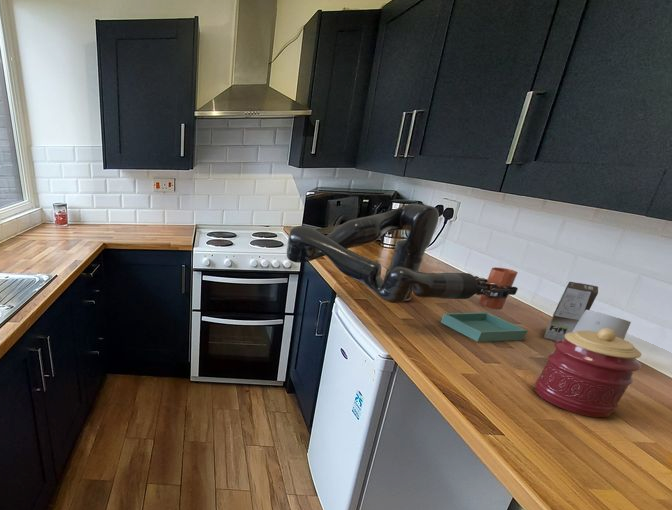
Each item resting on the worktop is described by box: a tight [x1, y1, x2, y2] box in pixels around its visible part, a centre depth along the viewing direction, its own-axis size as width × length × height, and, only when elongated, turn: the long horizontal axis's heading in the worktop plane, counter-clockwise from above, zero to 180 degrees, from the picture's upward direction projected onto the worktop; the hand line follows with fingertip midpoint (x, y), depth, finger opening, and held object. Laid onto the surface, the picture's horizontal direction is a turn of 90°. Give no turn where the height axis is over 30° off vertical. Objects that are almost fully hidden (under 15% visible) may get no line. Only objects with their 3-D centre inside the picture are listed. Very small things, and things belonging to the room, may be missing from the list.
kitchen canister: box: [534, 328, 642, 418], centre depth 85 cm, size 13×13×18 cm
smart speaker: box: [572, 309, 632, 340], centre depth 104 cm, size 10×9×14 cm
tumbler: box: [477, 267, 519, 311], centre depth 117 cm, size 6×6×11 cm
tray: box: [440, 311, 528, 343], centre depth 122 cm, size 14×16×3 cm
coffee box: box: [543, 281, 599, 342], centre depth 117 cm, size 9×6×16 cm
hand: (505, 286), depth 117 cm, fingers closed on tumbler, 6 cm apart
